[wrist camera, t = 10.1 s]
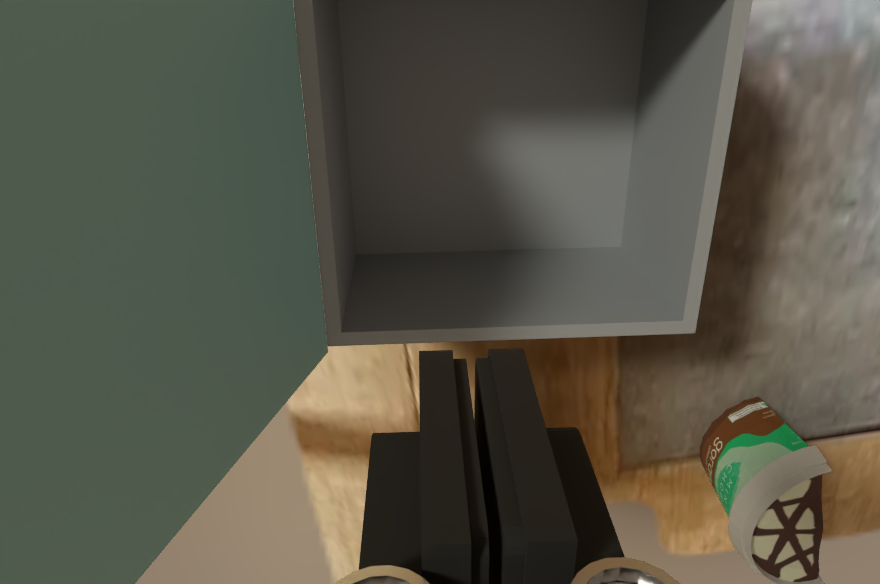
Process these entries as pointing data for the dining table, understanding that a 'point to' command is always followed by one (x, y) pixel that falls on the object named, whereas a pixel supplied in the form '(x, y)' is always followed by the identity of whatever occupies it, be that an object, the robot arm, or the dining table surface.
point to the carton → (515, 163)
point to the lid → (144, 269)
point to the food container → (767, 491)
